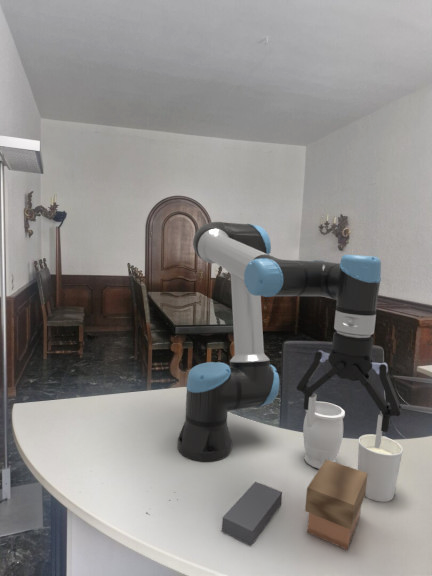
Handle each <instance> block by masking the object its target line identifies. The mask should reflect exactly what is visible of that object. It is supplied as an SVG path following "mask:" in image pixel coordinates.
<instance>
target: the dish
mask: <svg viewBox="0 0 432 576" xmlns="http://www.w3.org/2000/svg"><path fill="white" fill-rule="evenodd" d="M361 509H362V506H361V507H360V509H359V512H358V514H357V517H356V519H355V522H354V525H353V527H352V530H350V529H348V528H345V527H343V526H340V525H338V524H336V523H333V522H331V521H328V520H326V519H323V518H321V517H318V516H316V515H313V514H311V513H309V512H308V518H307V519H308V522H307V533H308V534H310V535H313V536H315V537H318V538H319V539H322V540H324V541H326V542H329V543H330V544H334V545H335V546H337V547H340V548H343V549H345V550H347V551H348V550H349V547H350V545H351V542H352V540H353V537H354V534H355V531H356V529H357V526H358V524H359V521H360V518H361Z"/></svg>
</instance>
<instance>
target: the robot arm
mask: <svg viewBox="0 0 432 576" xmlns="http://www.w3.org/2000/svg"><path fill="white" fill-rule="evenodd" d="M270 239H271V238H270V236H269V234H268V232H267V231H266V230H265V229H264V227H262V226H260V225H256V224H255V225H254V224H252V223H235V222H226V221H225V222H223V221H212V222H207V223H206V224H204V225H202V226H200V227H199V228H198V229H197V231H196V232H195V234H194V236H193V239H192V247H193V250H194V252H195V254H196V256H197V257H198V258H200V259H201V260H202V261H204V262H206V263H208V264H217V265H218V266H219V267H222V268H223V269H224V270H226V271H227V272H228V273H229V274H230V285H231V286H230V287H231V307H232V324H233V327H232V328H233V344H234V345H233V346H234V356H232V357H231V359H230V360H229V364H227V363H225V362H220V361H217V362H214V361H208V362H203V363H199V364H196V365H195V366H193V367H192V368H191V369H190V370H189V371H188V374H187V381H186V386H185V387H186V396H185V397H186V401H185V419H184V422H183V425H182V427H181V430H180V432H179V434H178V437H177V449H178V452H179V453H180V454H181V455H182V456H183V457H186V458H188V459H190V460H193V461H198V462H215V461H219V460H223V459H224V458H226V457H228V456H229V455H230V454H231V452H232V446H233V445H232V443H233V441H232V438H231V434H230V429H229V425H228V413H229V411H235V410H241V409H249V408H261V407H263V406H268V405H270V404H272V403H273V402H274V401H275V399H276V398H277V396H278V393H279V391H280V376H279V373H278V372H277V371H278V370H277V368H276V367H275V366H274V365H272V364H271V363H270V361H271V360H270V358H269V356H268V355H266V354H265V349H264V347H265V346H264V334H263V331H264V330H263V314H262V312H263V311H262V297H264V298H269V297H270V298H271V297H325V298H328V299H333V300H336V307H335V314H334V324H333V328H334V330H335V331H334V332H333V336H332V344H331V345H332V346H331V353H330V352H329V353H328V352H325V351H324V349H319V350H318V351H316V352H315V354H314V357H313V358H314V359H313V362H312V363H311V365H310V366H309V368H308V369H307V371H306V372H305V373H304V374H303V377H302V378H301V379H300V381H299V382H298V384H297V386H296V390H297V391H298V392H302V393H303V395H304V398H303V399H304V401H303V409H304V411H306V410H308V415H307V425H306V427H309V428H310V427H311V426H312V425H313V424H314V417H315V406H316V402H317V396H318V395H317V394H316V393H314V392H315V391H317V390H318V389H319V388H320V387H322V386H324V384H325V383H327V382H328V381H329V380H330V379H332V378H333V377H334V376H335V375H337V376H338V377H339V379H343V380H344V379H345V380H346V379H347V380H349V381H352V382H357V381H359V382H360V384H361V385H362V386H363V387H364V388H365V390H366V391H367V393H368V394H369V396H370V397H371V398H372V400H373V402H374V403H375V405H376V406H377V408H378V409H379V411H380V412H379V413H378V416H377V421H376V422H377V423H376V432H375V435H376V439H375V447H374V448H378V449H379V447H380V444H381V438H382V436H383V432H384V433H387V432H388V431H389V429H390V422H391V417H392V416H393V417H394V416H395V417H399V416H401V413H402V406H401V403H400V401H399V398H398V396H397V392H396V391H395V390H396V389H395V388H394V386H393V385H394V384H393V383H392V381H391V378H390V375H389V363H387V362H386V361H383V362H381V363H380V362H373V359H372V355H373V354H372V352H373V345H374V344H373V343H374V338H373V336H372V335H374V333H375V328H376V320H377V319H376V317H377V306H378V298H379V297H378V296H379V291H380V284H381V282H382V281H381V279H382V277H381V273H382V269H381V268H382V263H381V259H380V258H379V257H377V256H374V255H371V256H370V255H360V254H359V255H358V254H344V255H342V257H341V259H340V262H339V263H337V262H331V261H324V260H320V259H319V260H316V259H314V260H298V259H297V260H295V259H293V260H291V259H279V258H277V257H274V256H273V255H270V254H271V251H272V246H271V245H272V243H271V240H270ZM327 360H328V362H329V364H330V365H331V369H330V370H328V371H327V372H326V373H325V374H323V376H321V377H320V378H319V379H317V380H316V381H315V382H314V383H313V384H312V385H310V386H308V383H310V381H311V379H312V377H314V376H315V375H314V374H315V373H316V372H317V371H318V370H319V369H318V368H319V367H320V366H321V364H322V363H323V364H324V363H325V362H326V361H327ZM372 369H373V370H374V371H375V374H377V376H378V375H379V379H380V382H381V385H382V388H383V390H384V393H385V395H386V398H387V400H388V402H387V400H386V399H385V397H384V396H383V394H382V393H381V392H380V390H379V388H378V387H377V385H376V384H375V383H374V381H373V380H372V377H371V375H370V374H369V372H370V371H371V370H372ZM388 403H389V404H388Z"/></svg>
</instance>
